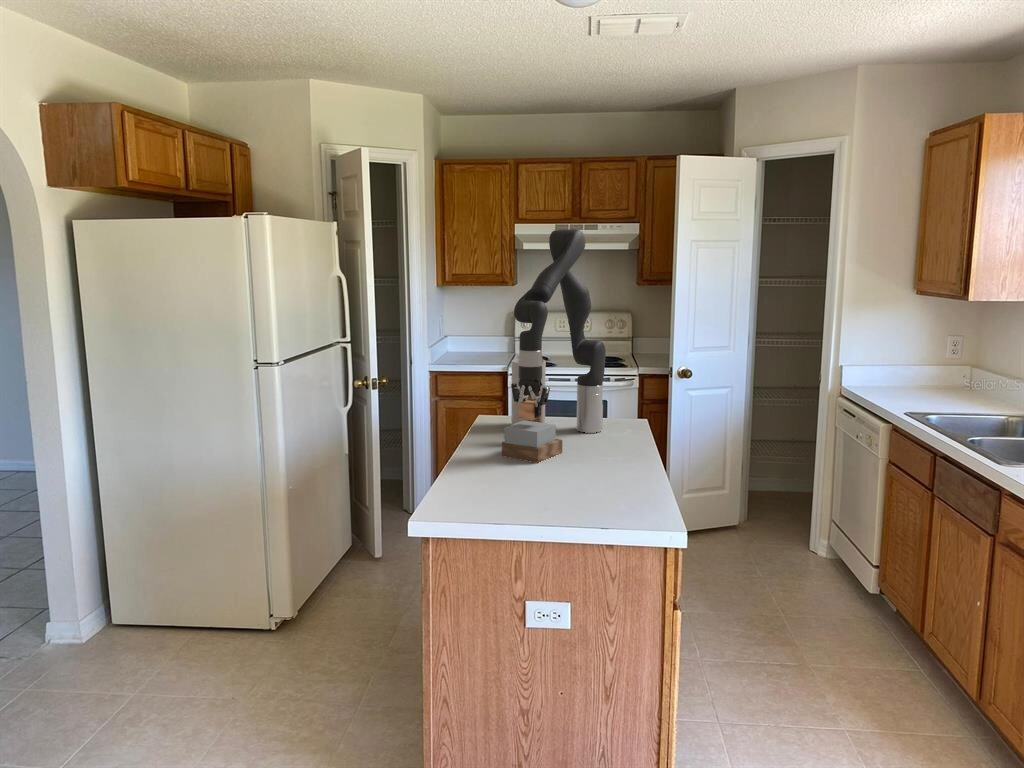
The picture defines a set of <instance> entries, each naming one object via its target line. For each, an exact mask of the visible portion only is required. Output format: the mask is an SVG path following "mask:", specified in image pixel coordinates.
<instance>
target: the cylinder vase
mask: <svg viewBox="0 0 1024 768" xmlns="http://www.w3.org/2000/svg"><path fill="white" fill-rule="evenodd" d="M546 363H547V361H546V359H542V379H541V382H542V385H543V386H545V387H546V371H547V370H546ZM519 380H520V379H519V358H516V359H512V360H511V384H513V383H518V382H519ZM519 390H520V392H521V389H520V388H519ZM526 401H528V397H527V399H526ZM523 420H524V421H527V420H526V419H520V418H519V403H518V402H515V401H514V398H513V393H512V392H511V425H513V424H515V423H518V422H521V421H523ZM542 420H543V423H546V404H545V405H542Z"/></svg>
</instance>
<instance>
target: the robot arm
mask: <svg viewBox="0 0 1024 768" xmlns="http://www.w3.org/2000/svg"><path fill="white" fill-rule="evenodd" d="M548 239H549V240H548V245H549V251H550V255H551V258H552V261H553V262H552V263H550V265H548V266H547V267H545V268H544V269H543V270H542V271H541V272H540V273H539V274H538V276H537V277H536V279H535V281H534V282H533V284H532V286H531V288H530V289H528V290H527V291H526V293H524V294H523V295H522V296H521V297H520V298H519V299H518V300H517V302H516V303H515V306H514V309H513V316H514V319H515V320H516V321H518V323H522V324H523V323H524V324H531V327H530V329H529V330H523V331H521V332H520V333H519V352H518V359H519V379H520V380H519V382H518V383H513V384H512V383H511V384H510V387H511V394H512V393H513V398H514V401H515V402H518V403H521V402H525V401H526V399H527V397H528V396H531V397H532V400H533V401H534V404H535V418H539V417H540V416H541V406H542V405H545V406H546V405H547V404H548V401H549V399H548V398H549V395H550V391H551V387H550V386H546V385H545V386H543V385H542V382H541V379H542V360H543V350H542V348H543V347H542V345H543V343H542V342H543V339H542V338H543V334H544V330H545V325H546V324H547V320H548V315H549V314H548V311H549V309H548V307H547V305H546V304H547V303H548V302H549V301H550V300H551V299H552V297H553V295H554V293H555V291H556V290H557V287H558V286H559V285H560V289H561V294H562V300H563V305H564V308H565V312H566V318H567V321H568V323H567V324H568V328H569V335H570V343H571V351H572V356H573V359H574V361H575V363H576V364H577V365H581V366H588V367H590V368H589V372H586V373H584V374H583V373H582V374H581V375H578V376H577V379H576V380H577V385H576V389H577V390H576V429H577V430H576V431H577V432H579V431H580V432H579V433H583V432H585V433H586V434H595V433H596V432H597V433H600V431H601V430H603V420H604V419H603V418H604V417H603V416H604V415H603V414H604V404H603V386H604V385H603V384H604V382H603V381H604V377H605V368H606V367H605V365H606V353H607V352H606V345H605V344H604V342H602V341H601V340H595V339H594V340H593V339H591V340H590V339H586V337H585V330H584V328H585V325H586V322H587V320H588V317H589V316H590V313H591V310H592V302H591V301H592V300H591V297H590V292H589V288H588V286H587V285H586V283H585V282H584V281H583V279H582V278H581V277H580V276H579V275H578V273H576V271H575V270H574V269H573V266H574V265H575V263H576V262H577V261H578V260H579V259H580V258H581V256H582V254H583V253H584V250H585V247H586V236H585V234H584V232H583V231H582V230H580V229H577V228H575V229H573V228H569V229H562V228H561V229H554V230H553V231H552V232H550V235H549V238H548ZM519 388H520V389H521V392H520V390H519ZM540 390H541V392H542V394H540ZM536 395H537V397H536ZM601 432H602V431H601ZM597 433H596V434H597Z"/></svg>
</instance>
